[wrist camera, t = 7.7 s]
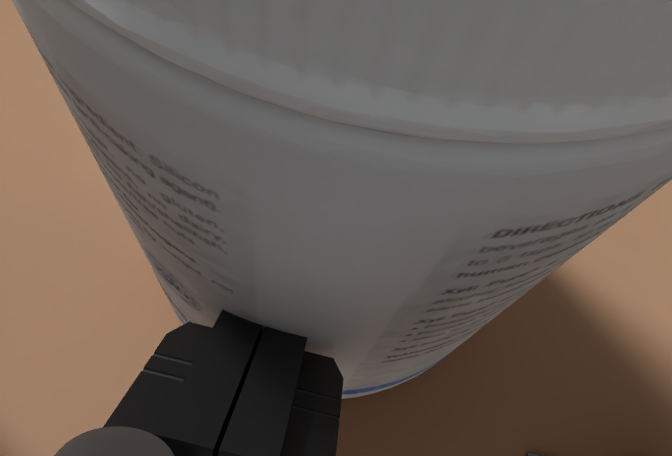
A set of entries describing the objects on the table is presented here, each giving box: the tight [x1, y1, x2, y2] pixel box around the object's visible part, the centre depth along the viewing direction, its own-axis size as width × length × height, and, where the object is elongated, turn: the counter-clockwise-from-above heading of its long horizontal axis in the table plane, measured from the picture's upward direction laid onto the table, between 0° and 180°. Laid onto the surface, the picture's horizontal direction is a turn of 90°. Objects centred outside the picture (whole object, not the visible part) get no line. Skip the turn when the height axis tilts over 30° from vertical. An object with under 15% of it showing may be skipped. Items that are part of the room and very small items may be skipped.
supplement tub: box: [12, 0, 672, 399], centre depth 11 cm, size 10×10×15 cm
